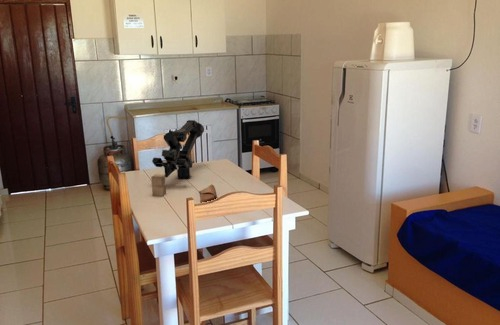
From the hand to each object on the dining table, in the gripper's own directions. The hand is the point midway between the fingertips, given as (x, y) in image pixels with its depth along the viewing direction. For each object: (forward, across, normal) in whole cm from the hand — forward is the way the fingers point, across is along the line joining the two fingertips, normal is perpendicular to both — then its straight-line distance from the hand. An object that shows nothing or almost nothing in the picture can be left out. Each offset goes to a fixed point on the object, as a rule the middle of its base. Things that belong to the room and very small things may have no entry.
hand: (166, 177), depth 227 cm
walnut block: (+11, 0, -1) cm, 11 cm away
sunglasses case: (+9, +25, +2) cm, 26 cm away
